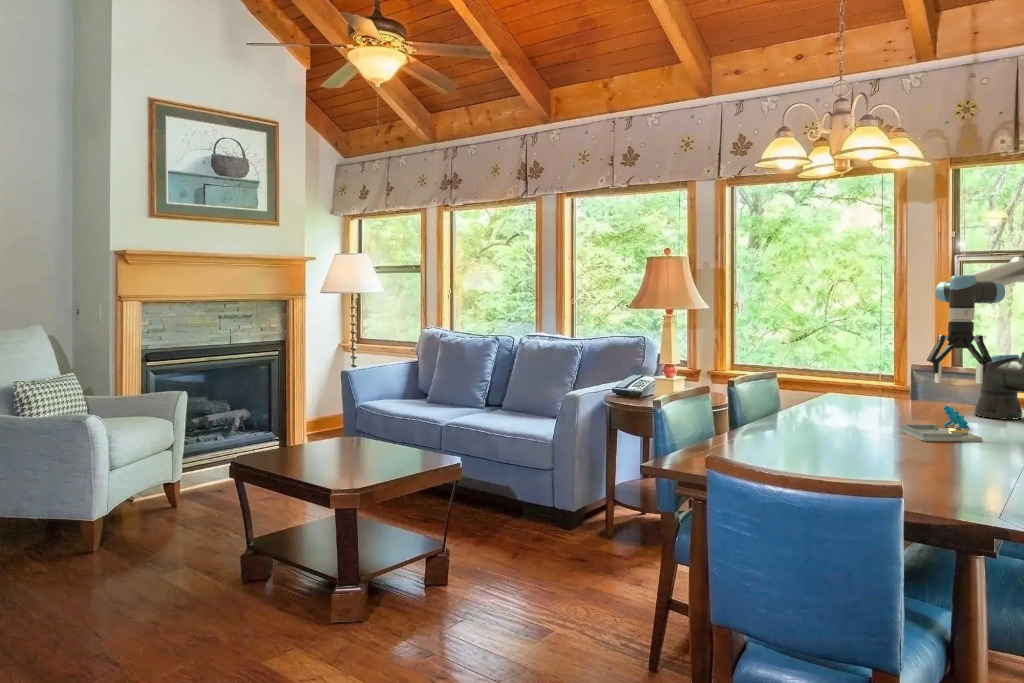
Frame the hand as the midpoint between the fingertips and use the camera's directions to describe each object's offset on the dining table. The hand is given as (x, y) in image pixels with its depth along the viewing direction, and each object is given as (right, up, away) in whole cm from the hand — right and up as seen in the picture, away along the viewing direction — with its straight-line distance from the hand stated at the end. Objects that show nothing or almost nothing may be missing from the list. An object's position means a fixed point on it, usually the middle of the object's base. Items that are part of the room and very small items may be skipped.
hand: (958, 383), depth 259 cm
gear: (0, -16, +1) cm, 16 cm away
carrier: (-14, -17, -13) cm, 25 cm away
